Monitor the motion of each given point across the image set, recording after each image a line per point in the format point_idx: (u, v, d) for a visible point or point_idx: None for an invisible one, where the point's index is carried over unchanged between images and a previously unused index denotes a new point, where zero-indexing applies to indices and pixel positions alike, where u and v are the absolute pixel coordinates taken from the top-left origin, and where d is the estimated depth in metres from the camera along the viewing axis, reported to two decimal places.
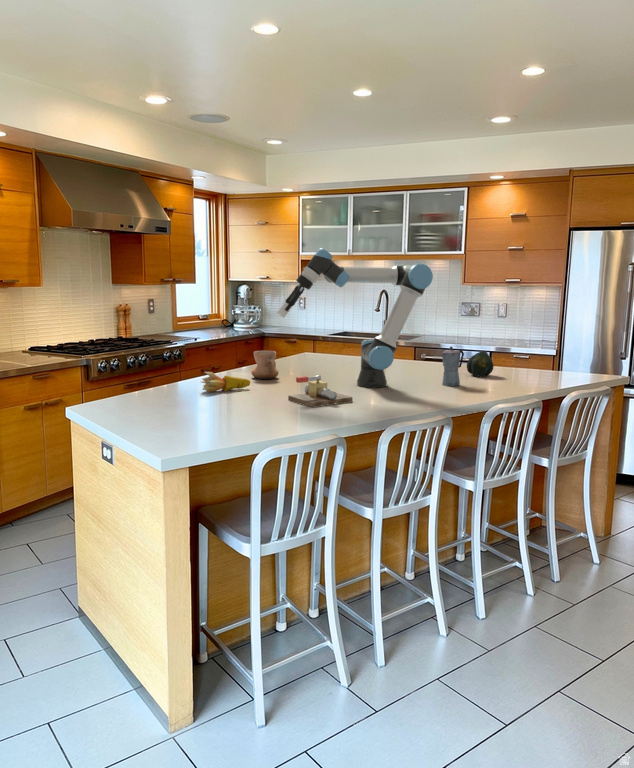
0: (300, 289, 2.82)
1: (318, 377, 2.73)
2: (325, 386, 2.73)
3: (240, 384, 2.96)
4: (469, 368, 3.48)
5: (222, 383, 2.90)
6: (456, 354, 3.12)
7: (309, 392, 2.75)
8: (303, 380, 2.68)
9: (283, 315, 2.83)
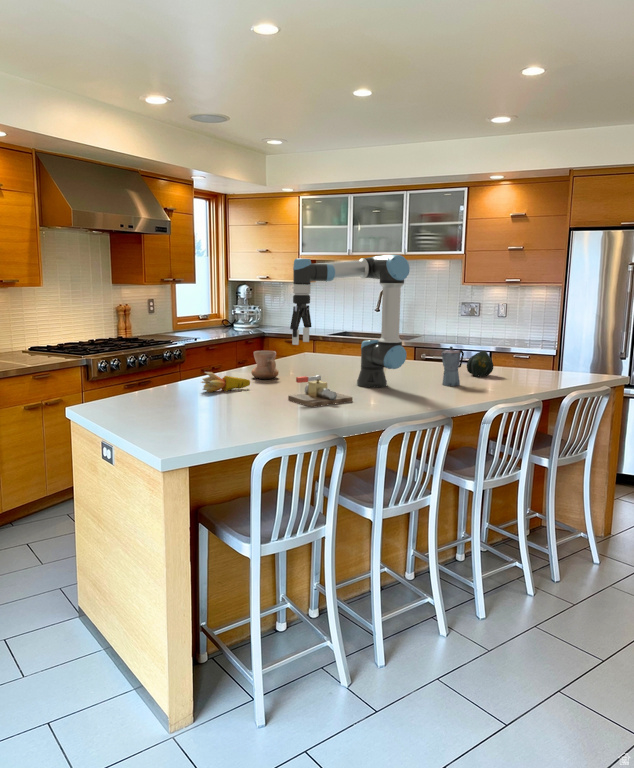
0: (295, 309, 2.65)
1: (318, 377, 2.73)
2: (325, 386, 2.73)
3: (240, 384, 2.96)
4: (469, 368, 3.48)
5: (222, 383, 2.90)
6: (456, 354, 3.12)
7: (309, 392, 2.75)
8: (303, 380, 2.68)
9: (296, 342, 2.67)
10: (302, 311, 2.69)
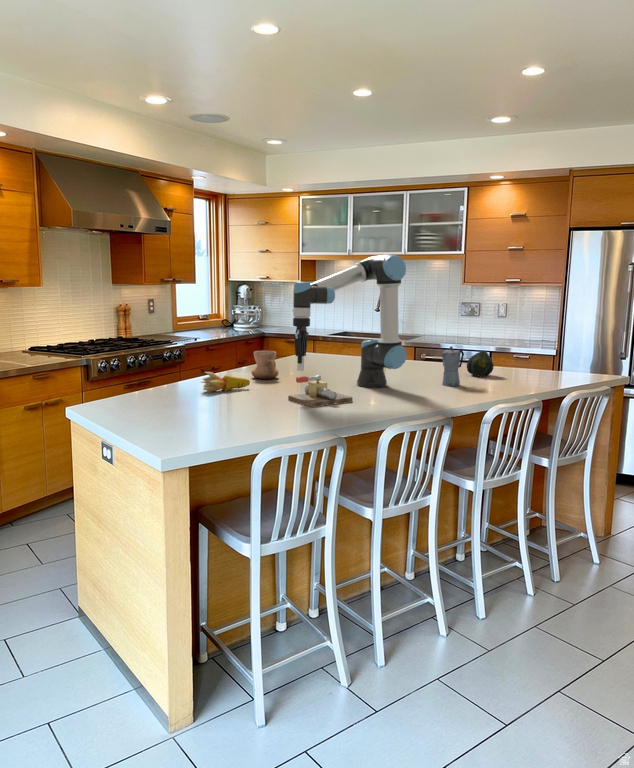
0: (296, 337, 2.68)
1: (318, 377, 2.73)
2: (325, 386, 2.73)
3: (240, 384, 2.96)
4: (469, 368, 3.48)
5: (222, 383, 2.90)
6: (456, 354, 3.12)
7: (309, 392, 2.75)
8: (303, 380, 2.68)
9: (300, 368, 2.75)
10: (303, 335, 2.71)
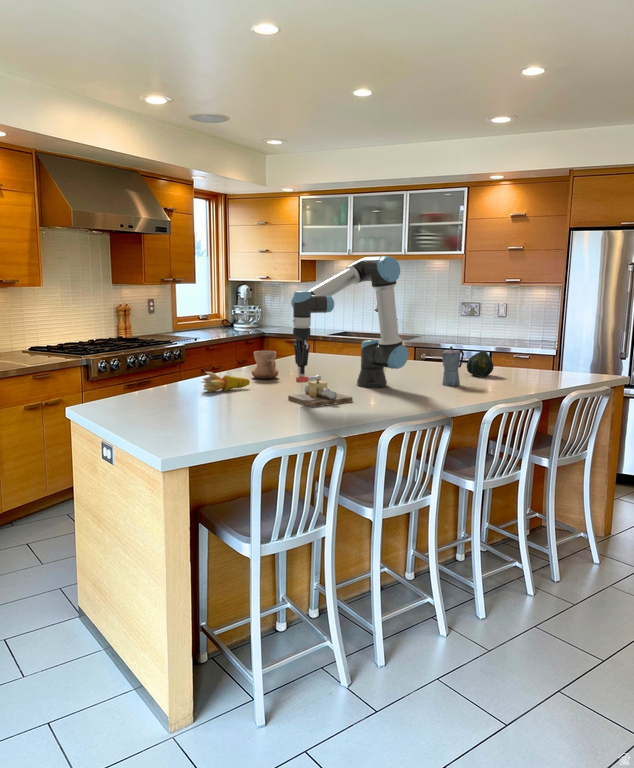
0: (306, 348, 2.63)
1: (318, 377, 2.73)
2: (325, 386, 2.73)
3: (240, 383, 2.96)
4: (469, 368, 3.48)
5: (223, 383, 2.91)
6: (456, 354, 3.12)
7: (309, 392, 2.75)
8: (303, 380, 2.68)
9: None
10: None
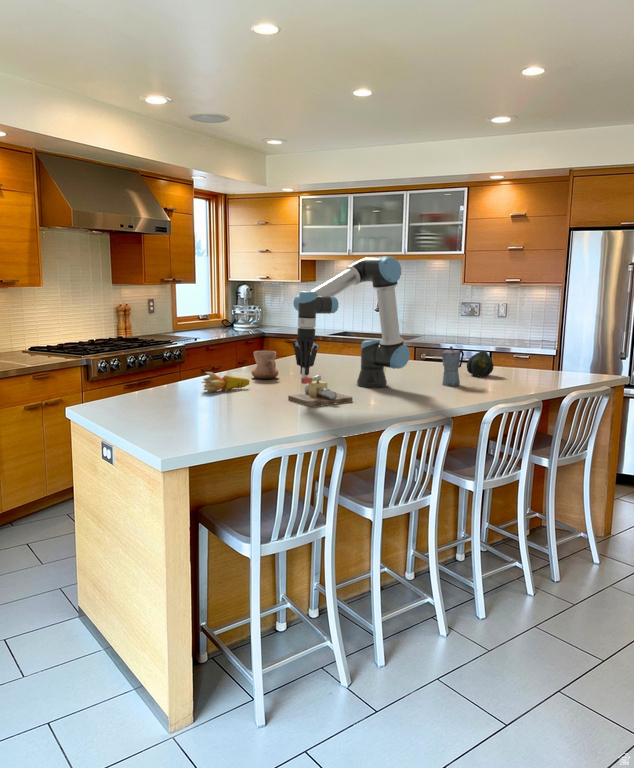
0: (316, 349, 2.62)
1: (319, 377, 2.73)
2: (325, 386, 2.73)
3: (240, 384, 2.96)
4: (469, 368, 3.48)
5: (223, 383, 2.91)
6: (456, 354, 3.12)
7: (309, 392, 2.75)
8: (308, 381, 2.66)
9: None
10: None
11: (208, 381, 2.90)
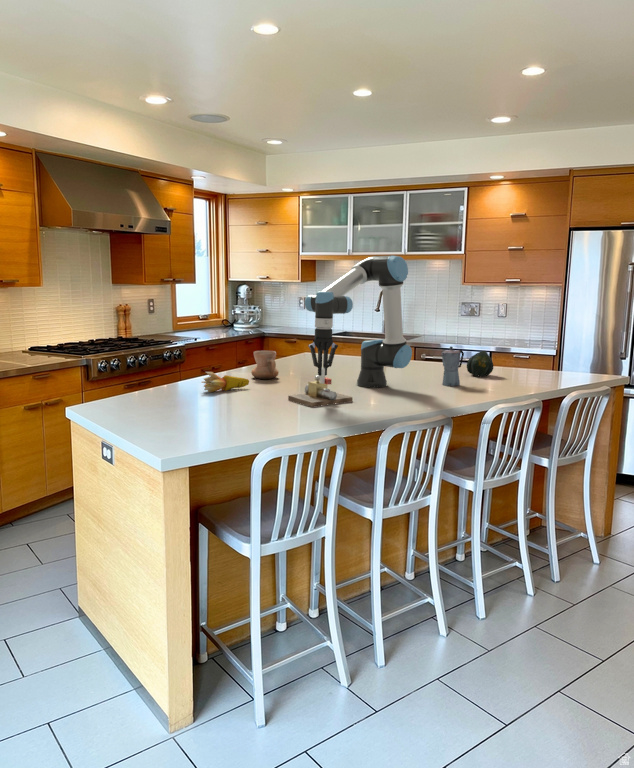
0: None
1: None
2: (325, 386, 2.73)
3: (240, 383, 2.97)
4: (469, 368, 3.48)
5: (223, 383, 2.91)
6: (456, 354, 3.12)
7: (309, 392, 2.75)
8: None
9: None
10: None
11: (208, 381, 2.90)
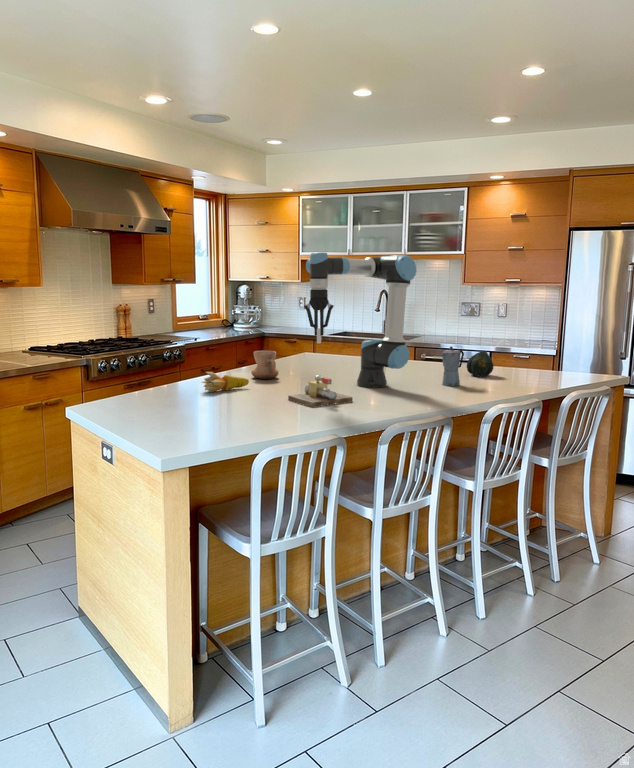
0: (331, 308, 2.68)
1: (320, 377, 2.74)
2: (325, 386, 2.73)
3: (240, 383, 2.97)
4: (469, 368, 3.48)
5: (223, 383, 2.91)
6: (456, 354, 3.12)
7: (309, 392, 2.75)
8: None
9: (320, 341, 2.72)
10: None
11: (209, 381, 2.89)
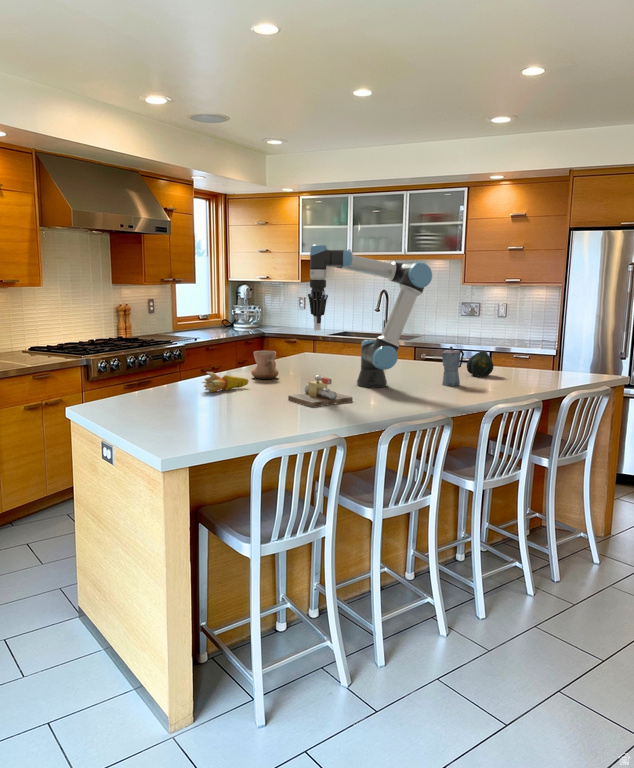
0: (324, 298, 2.82)
1: (320, 377, 2.74)
2: (325, 386, 2.73)
3: (240, 383, 2.98)
4: (469, 368, 3.48)
5: (224, 383, 2.91)
6: (456, 354, 3.12)
7: (309, 392, 2.75)
8: None
9: (319, 328, 2.89)
10: None
11: (209, 381, 2.89)
